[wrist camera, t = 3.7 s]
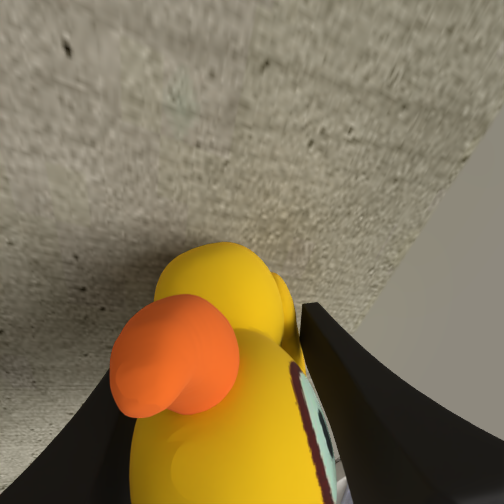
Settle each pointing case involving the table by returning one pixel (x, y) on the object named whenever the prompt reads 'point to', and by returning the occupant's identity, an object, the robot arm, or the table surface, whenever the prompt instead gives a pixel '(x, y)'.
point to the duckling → (221, 389)
